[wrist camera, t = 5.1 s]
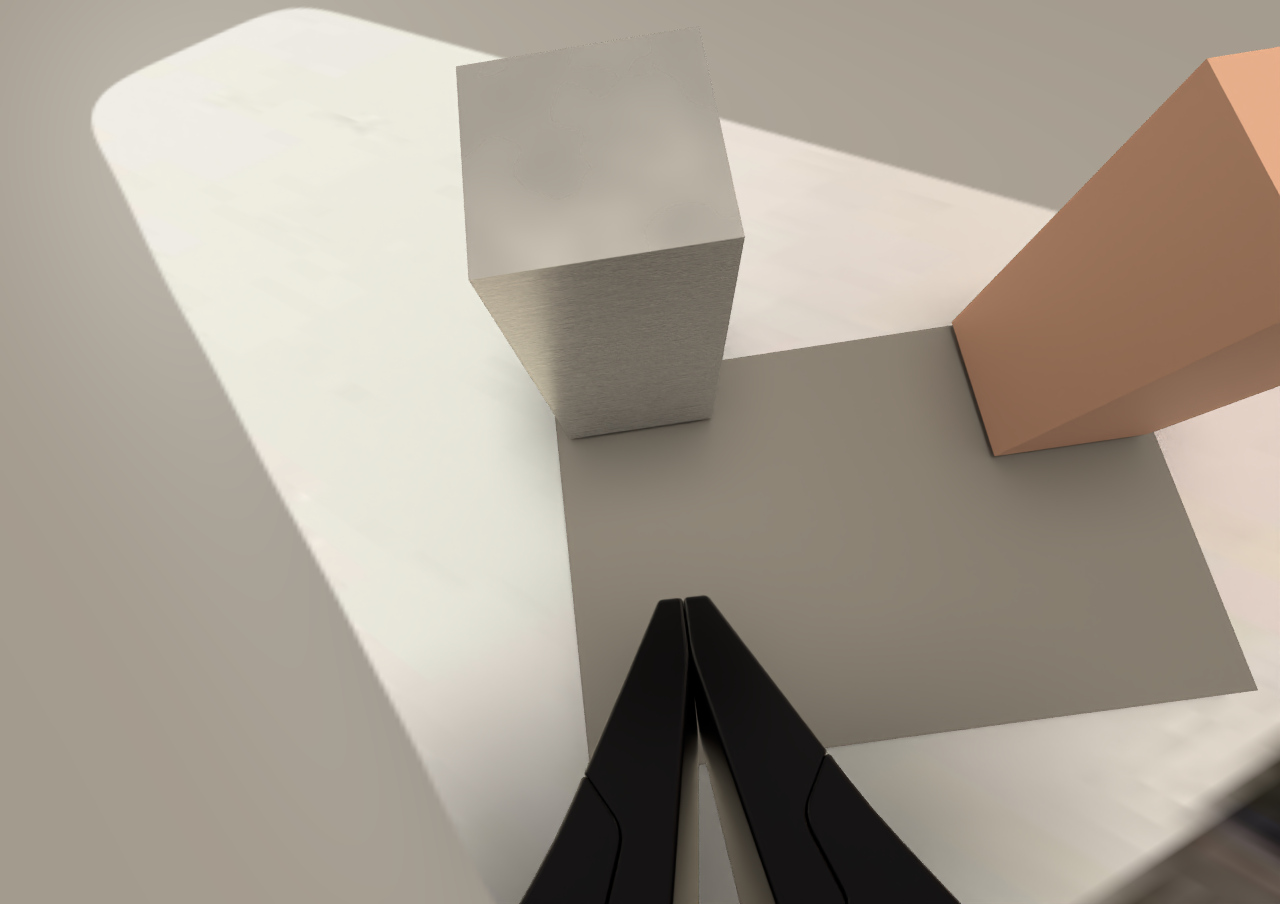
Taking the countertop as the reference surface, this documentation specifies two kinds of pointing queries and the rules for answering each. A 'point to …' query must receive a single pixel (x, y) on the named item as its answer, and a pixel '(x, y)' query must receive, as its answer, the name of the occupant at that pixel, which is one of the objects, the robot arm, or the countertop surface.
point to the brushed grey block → (604, 225)
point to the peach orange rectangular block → (1144, 278)
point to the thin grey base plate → (894, 550)
